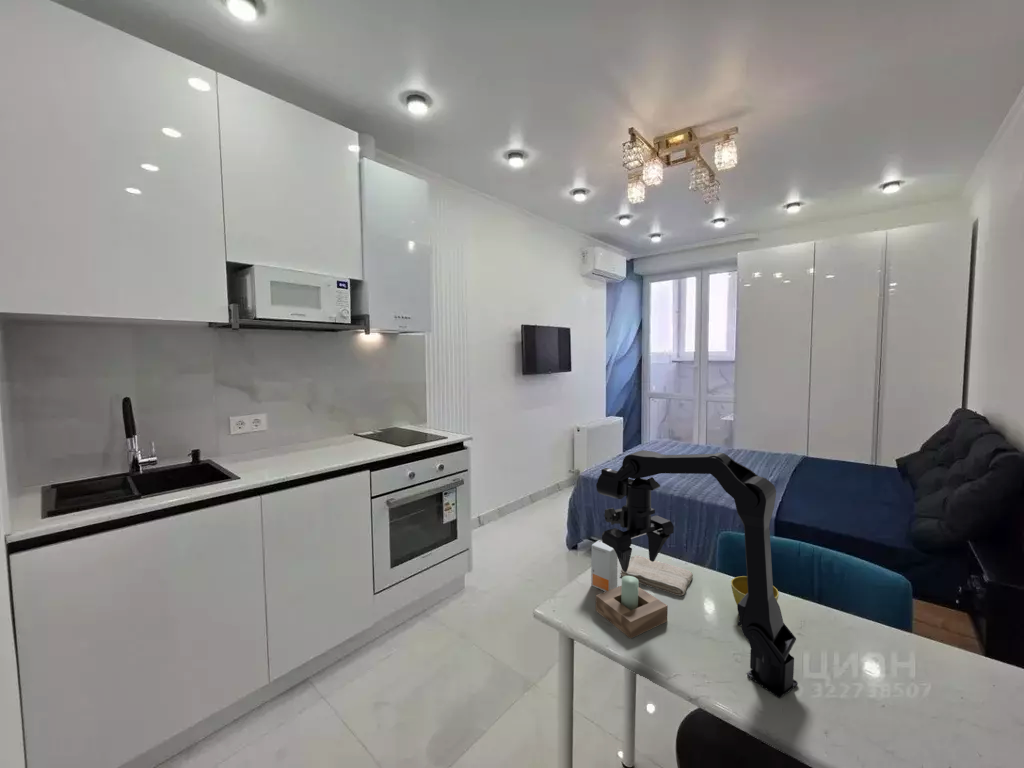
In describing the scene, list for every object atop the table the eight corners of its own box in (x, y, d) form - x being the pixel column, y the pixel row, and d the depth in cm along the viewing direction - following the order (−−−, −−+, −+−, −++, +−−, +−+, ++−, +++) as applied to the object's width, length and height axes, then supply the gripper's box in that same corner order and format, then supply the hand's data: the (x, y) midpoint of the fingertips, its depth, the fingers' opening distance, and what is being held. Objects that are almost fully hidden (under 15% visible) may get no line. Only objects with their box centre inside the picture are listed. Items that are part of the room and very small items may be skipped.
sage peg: (641, 613, 104) (642, 582, 103) (628, 617, 102) (629, 586, 102) (629, 604, 108) (630, 574, 107) (617, 608, 106) (618, 578, 105)
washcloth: (632, 561, 132) (632, 551, 132) (694, 578, 122) (694, 568, 122) (618, 578, 122) (618, 568, 122) (684, 599, 112) (684, 588, 112)
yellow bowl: (785, 617, 103) (786, 589, 102) (765, 634, 97) (766, 604, 97) (743, 598, 111) (743, 571, 111) (722, 612, 106) (723, 584, 105)
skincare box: (590, 586, 118) (590, 544, 117) (598, 579, 121) (598, 539, 120) (610, 594, 114) (610, 551, 113) (618, 587, 117) (618, 545, 116)
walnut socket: (667, 621, 102) (667, 605, 102) (630, 638, 97) (630, 621, 96) (630, 596, 113) (630, 581, 112) (595, 610, 107) (595, 595, 107)
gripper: (640, 487, 114) (640, 543, 115) (586, 501, 105) (587, 562, 106) (675, 499, 104) (674, 561, 106) (618, 516, 95) (619, 582, 96)
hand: (638, 565), depth 104 cm, fingers open, 9 cm apart
